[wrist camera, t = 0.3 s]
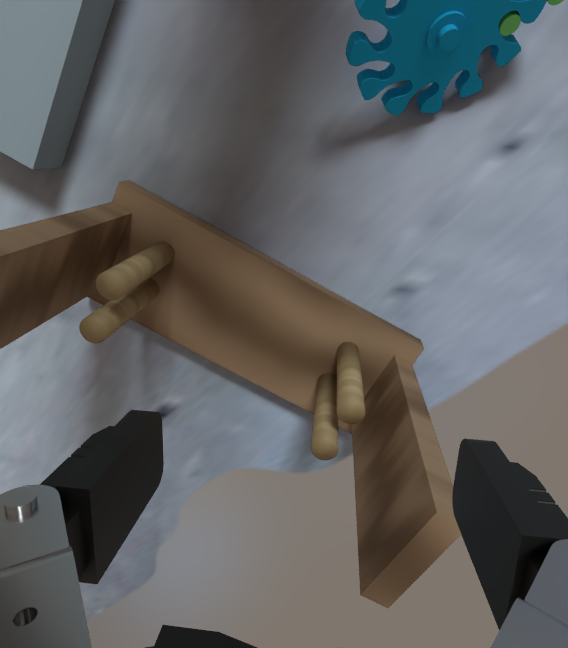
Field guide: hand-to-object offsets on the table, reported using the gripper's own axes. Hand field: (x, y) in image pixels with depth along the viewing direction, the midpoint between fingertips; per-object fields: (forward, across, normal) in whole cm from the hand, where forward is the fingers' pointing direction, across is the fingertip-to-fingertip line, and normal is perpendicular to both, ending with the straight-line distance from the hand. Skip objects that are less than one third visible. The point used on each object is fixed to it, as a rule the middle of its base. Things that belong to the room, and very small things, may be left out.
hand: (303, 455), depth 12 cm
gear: (+20, -6, -16) cm, 26 cm away
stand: (+22, +5, +2) cm, 23 cm away
